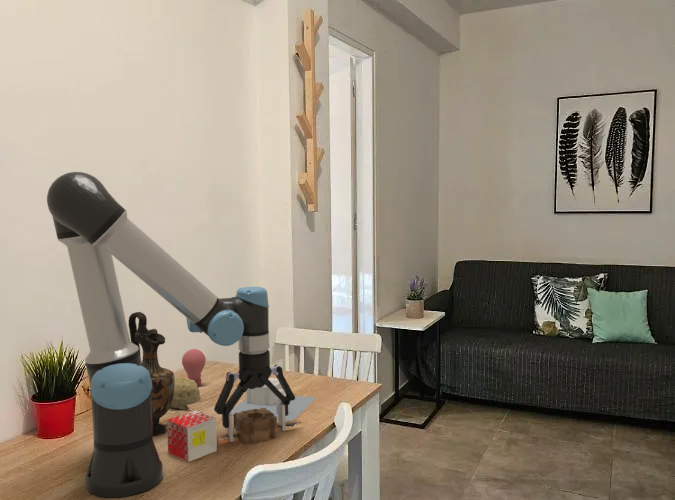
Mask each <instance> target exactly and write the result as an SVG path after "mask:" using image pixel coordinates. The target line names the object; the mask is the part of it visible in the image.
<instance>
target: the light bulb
mask: <svg viewBox="0 0 675 500" xmlns="http://www.w3.org/2000/svg"><path fill="white" fill-rule="evenodd" d="M206 362H207V361H206V356H205V354H204V353H203V351H202V350H200V349H197V348H191V349H188V350H187V351H186V352H185V353H184V354H183V355H182V359H181V364H182V367H183V369H184V371H185V373H186V374H187V379H191V380H194V381H195V382H196V383H197V385H198V387H200V386H202V383H203V382H202V379H201V376H202V372H203V369H204V368H205V366H206Z"/></svg>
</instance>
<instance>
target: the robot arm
mask: <svg viewBox="0 0 675 500" xmlns="http://www.w3.org/2000/svg"><path fill="white" fill-rule="evenodd" d="M46 204H47V208H48V211H49V213H50V214H51V216H52V221H53V225H54V228H55V233H56V238H57V241H58V242H59V243H61V244H63V245H65V247H66V248H67V252H68V257H69V261H70V266H71V269H72V274H73V279H74V283H75V287H76V293H77V297H78V301H79V306H80V310H81V311H80V312H81V314H82V319H83V324H84V328H85V332H86V338H87V342H88V347H89V352H88V354H87V356H86V357H85V358H84V363H85V367H86V372H87V375H88V381H89V385H90V386H89V387H90V390H89V391H90V395H91V408H92V409H91V411H92V429H93V430H92V431H93V434H92V435H93V452H92V455H91V459H90V462H89V464H88V469H87V472H86V474H85V475H86V477H85V480H86V481H85V483H86V490H87V491H88V492H89V493H91V494H92V495H94V496H98V497H103V498H123V497H129V496H133V495H137V494H140V493H143V492H146V491H148V490H150V489H152V488H154V487H156V486H157V485H158V484H159V483H160V482H161V481H162V480H163V476H164V471H163V470H164V469H163V467H164V466H163V462H162V461H161V458H160V456H159V455H160V454H159V453H158V450H157V448H156V445H155V442H154V435H153V426H152V401H151V389H152V381H151V378H150V373H149V371H148V370H147V369H146V368H145V367H143V366H142V356H141V357H140V355H141V351H140V352H139V347H138V346H137V345H135V344H133V343H132V342H131V338H130V333H129V328H128V326H127V321H126V317H125V316H126V315H125V312H124V306H123V301H122V296H121V292H120V288H119V283H118V277H117V273H116V269H115V263H114V259H113V257H114V258H115V259H116V260H117V261H118V262H120V263H121V264H122V265H124V266H125V268H127V269H129V270H130V271H131V272H132V273H133V274H134V275H136V277H138V278H139V279H140V280H141V281H143V282H144V283H145V284H146V285H148V287H150V288H151V289H152V290H153V291H154V292H156V293H157V294H158V295H159V296H160V297H161V298H163V299H164V300H165V301H166V302H167V303H169V304H170V305H171V306H172V307H173V308H175V309H176V310H177V311H178V312H180V314H182V315H184V317H186V325H187V329H188V331H189V332H190V333H200V334H202V333H204V334H205V335H206V336H208V338H209V339H210V340H211V341H212V342H213V343H214V344H217V345H219V346H223V347H229V346H233V345H234V344H236V343H237V342H238V350H239V352H238V372H236V373H233V372H231V371H228V372H226V376H225V383H224V385H223V387H222V389H221V392H220V394H219V396H218V399H217V401H216V403H215V405H214V408H213V410H214V412H215V413H216V414H217V415H221V422H222V427H223V428H225V429H226V430H225V431H226V432H225V433H226V434H227V435H226V439H227V440H228V442H231V443H232V442H234V430H233V429H234V418H233V415H232V414H231V413H230V412H231V411H232V409H233V408H234V407H236V406H237V404H238V402H239V400H240V399H241V398H242V396H243V395H244V394H245V392H246V391H247V389H248V388H249V389H254V388H262V387H263V386H264V385H266V386H267V387H268V388H269V389H270V390H271V391H272V392H273V393H274V394H275V395H276V396H277V397H278V398H279V399H280V400H281V402H278V420H277V421H278V422H277V424H279V425H278V429H280V430H281V431H286V426H285V425H286V421H285V416H288V405H289V404H290V401H292V400H295V396H296V395H295V394H294V392H293V390H292V389H291V387H290V385H289V383H288V381H287V380H286V378H285V376H284V373H283V367H282V366H281V365H279V364H275V365H274V366H273V367H271V366H270V365H271V363H270V362H271V359H270V350H269V349H270V331H269V330H270V329H269V328H270V327H269V308H270V305H269V296H268V291H267V289H266V288H264V287H262V286H261V287H260V286H245V287H240V288H238V289H237V290H236V294H235V296H233V297H223V298H221V297H220V298H218V296H217V295H216V294H215V293H213V292H212V291H211V290H210V289H209V288H207V287H206V286H205V284H203V283H202V282H201V281H199V279H197V278H196V277H195V276H194V275H193V274H191V272H189V271H188V270H187V269H186V268H185V267H184V266H183V265H181V264H180V263H179V262H178V261H177V260H176V259H175V258H173V257H172V256H171V255H170V254H169V253H168V252H167V251H165V249H163V248H162V247H161V246H160V245H158V243H157V242H155V240H153V239H152V238H151V237H149V236H148V235H147V234H146V233H145V232H144V231H143V230H142V229H141V228H139V227H138V226H137V225H136V224H134V222H133V221H131V220H130V219H129V218H128V211H127V209H125V208H124V207H123V205H121V204H120V203H119V202H118V201H116V199H115V198H114V197H113V196H112V195H111V193H110V192H109V191H108V190H107V188H106V187H105V186H104V184H103V183H102V182H101V181H100V180H99V179H98V178H97V177H95V176H94V175H93V174H92V175H91V174H89V173H87V172H82V171H71V172H67V173H64V174H62V175H59V177H57V178H56V179H55V180H54V181H53V182H52V183H51V185H50V186H49V189H48V191H47V195H46ZM271 375H274V376H275V378H277V379H278V381H279V383H280V384H281V386H282V388H283V390H284V392H285V395H287V396H284V395H283V394H282V393H281V392H280V391H279V390H278V389H277V388H276V387H275V386H274V385H273V384H272V383H271V382H270V381H269V380H268V379H269V378H271ZM237 379H239V382H238V384H237V385H236V388H235V389H234V391H233V393H232V394H231V392H232V389H233V388H234V383H236V382H237Z"/></svg>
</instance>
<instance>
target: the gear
mask: <svg viewBox="0 0 675 500" xmlns="http://www.w3.org/2000/svg"><path fill="white" fill-rule="evenodd" d="M268 380H269V381H270V382H271V383H272V384H273V385H274V386H275V387H276V388H277V389H283V388H282V386H281V384H280V383H279V381H278V379H277V377H269V379H268ZM244 398H245V399H244V400H245V402H246V403H252V404H258V405H269V406H270V405H274V403H276V395H275V394H274V393H273V392H272V391H271V390H270V389H269V388H268V387H267V386H266V385H264V386H263V387H262V388H254V389H249V388H248V389H247V391H246V392H245V393H244Z"/></svg>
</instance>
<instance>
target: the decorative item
mask: <svg viewBox="0 0 675 500" xmlns="http://www.w3.org/2000/svg"><path fill="white" fill-rule="evenodd" d="M200 399H201V392H200V388H199V386H198V385H197V383H196V382H195V381H194V380H191V379H189V378H188V377H186V378H185V377H181V376H177V377H176V378H175V387H174V394H173V399H172V402H171V405H170V408H169V409H171V408H172V409H179V410H189V409H190V408H189V406H188V405H191V404H194V403H196V402H199V400H200Z"/></svg>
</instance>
